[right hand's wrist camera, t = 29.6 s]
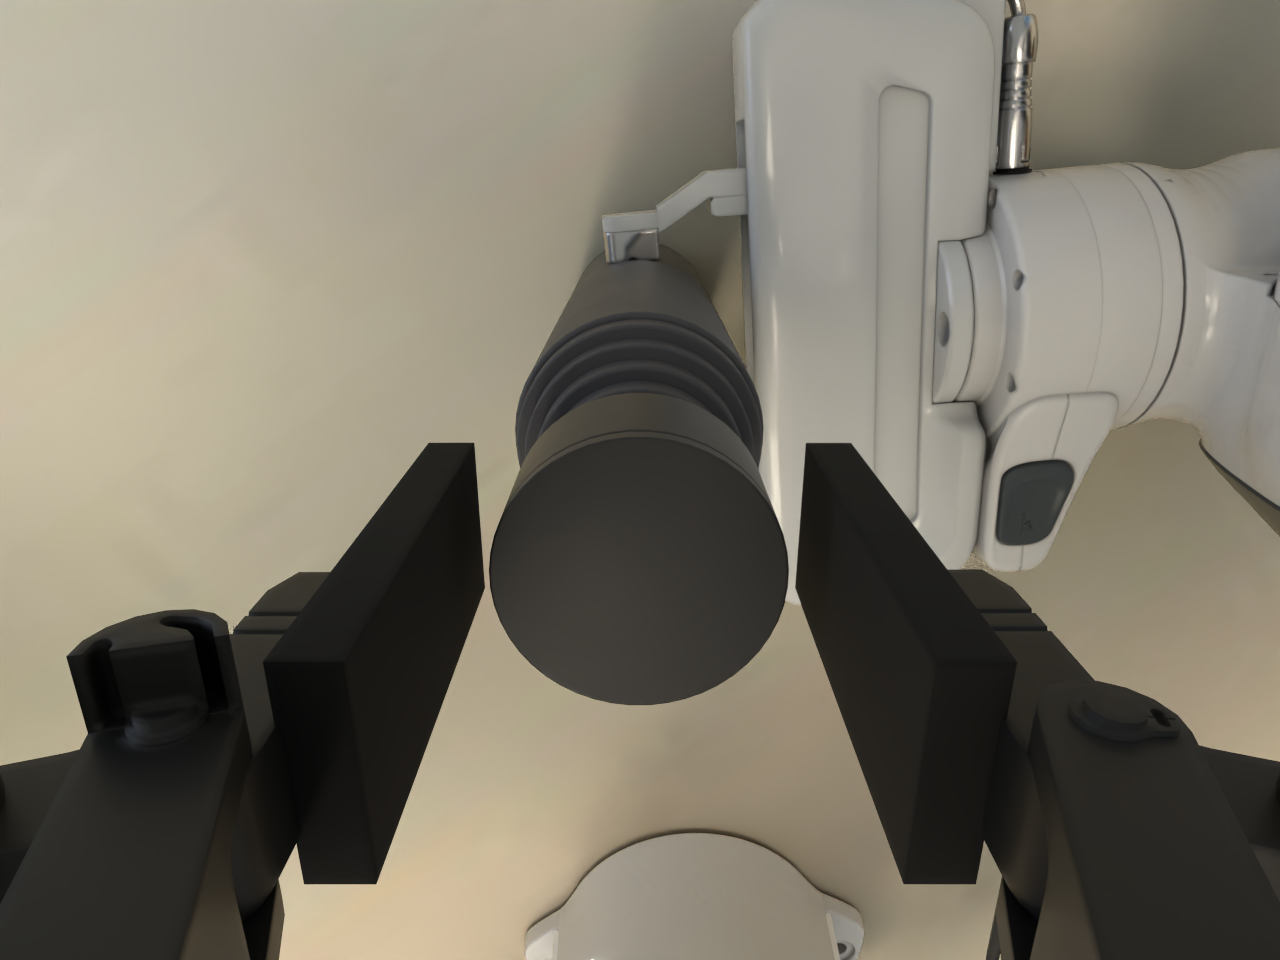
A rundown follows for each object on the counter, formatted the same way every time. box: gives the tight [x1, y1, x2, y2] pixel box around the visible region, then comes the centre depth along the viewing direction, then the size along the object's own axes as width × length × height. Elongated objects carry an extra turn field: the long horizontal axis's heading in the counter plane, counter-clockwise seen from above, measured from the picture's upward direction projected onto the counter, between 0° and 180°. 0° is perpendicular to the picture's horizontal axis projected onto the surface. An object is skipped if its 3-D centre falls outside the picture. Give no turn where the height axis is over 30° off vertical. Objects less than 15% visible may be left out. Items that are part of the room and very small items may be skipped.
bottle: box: [515, 244, 764, 469], centre depth 24 cm, size 6×6×23 cm
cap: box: [489, 393, 789, 705], centre depth 13 cm, size 4×4×2 cm
